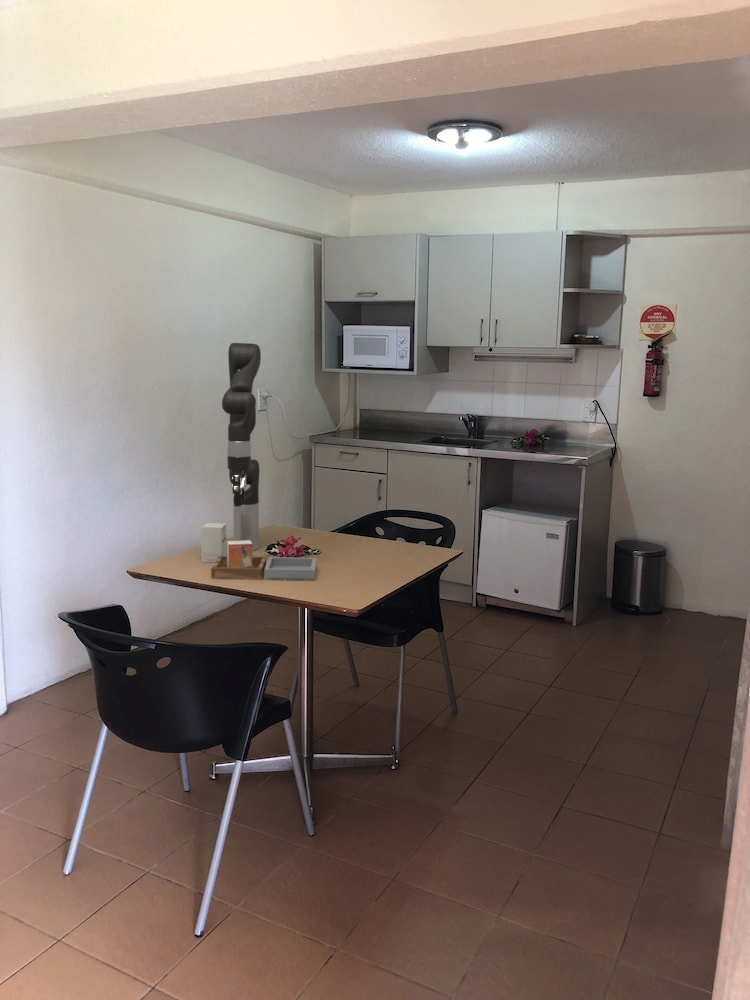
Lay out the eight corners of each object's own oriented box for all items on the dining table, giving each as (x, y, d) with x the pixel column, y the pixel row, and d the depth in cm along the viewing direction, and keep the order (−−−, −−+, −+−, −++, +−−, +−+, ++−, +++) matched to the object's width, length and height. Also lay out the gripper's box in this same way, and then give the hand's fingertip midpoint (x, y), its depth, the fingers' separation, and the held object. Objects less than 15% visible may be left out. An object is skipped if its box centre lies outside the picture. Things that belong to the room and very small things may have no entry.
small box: (228, 575, 270) (228, 544, 268) (226, 571, 276) (226, 540, 274) (252, 574, 272) (252, 543, 270) (250, 570, 278) (250, 539, 276)
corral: (219, 566, 282) (218, 556, 281) (266, 566, 282) (266, 557, 281) (211, 578, 266) (211, 568, 265) (261, 579, 266) (261, 569, 266)
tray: (269, 567, 282) (269, 557, 281) (316, 567, 283) (316, 557, 282) (264, 579, 266) (264, 569, 266) (314, 580, 267) (314, 570, 266)
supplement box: (221, 563, 285) (221, 527, 283) (200, 562, 286) (200, 526, 284) (226, 558, 293) (226, 523, 290) (206, 557, 293) (205, 522, 291)
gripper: (230, 451, 274) (230, 499, 277) (224, 456, 260) (224, 507, 263) (253, 452, 274) (253, 500, 277) (248, 457, 260) (248, 508, 263)
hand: (239, 503), depth 270 cm, fingers open, 8 cm apart
